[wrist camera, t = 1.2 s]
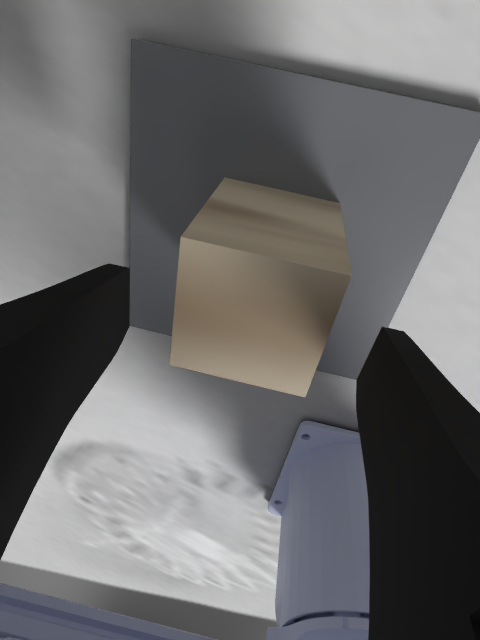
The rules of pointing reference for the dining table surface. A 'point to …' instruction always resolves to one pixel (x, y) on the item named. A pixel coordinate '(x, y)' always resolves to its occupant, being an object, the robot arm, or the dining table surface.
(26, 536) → the dining table surface
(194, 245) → the maple block
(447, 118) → the tile
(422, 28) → the dining table surface
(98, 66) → the dining table surface
